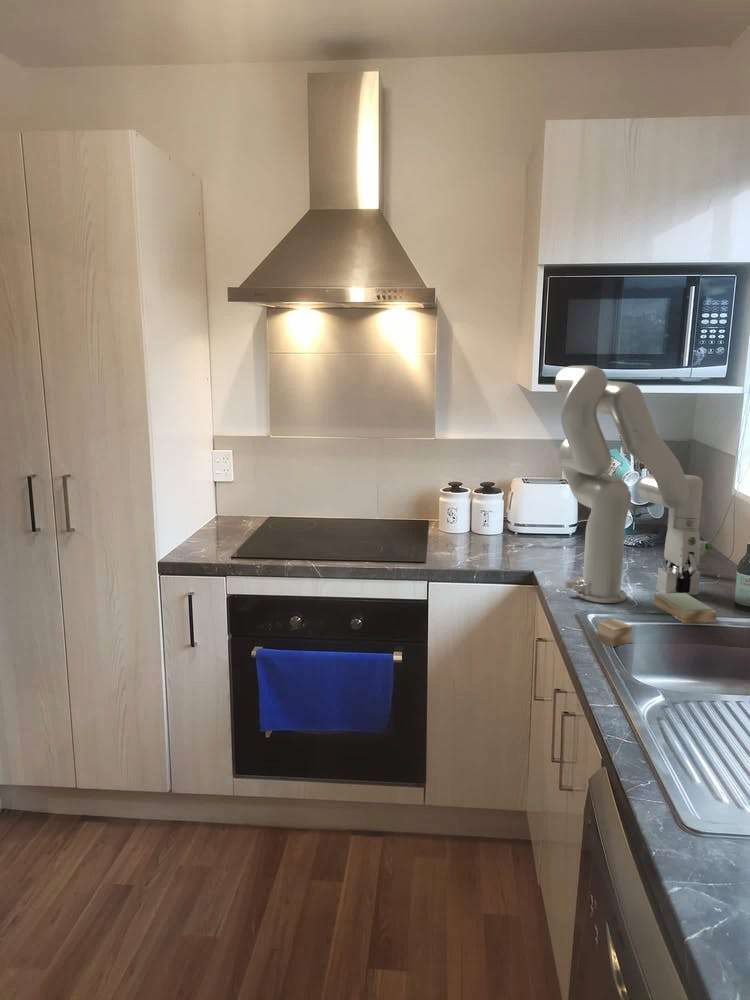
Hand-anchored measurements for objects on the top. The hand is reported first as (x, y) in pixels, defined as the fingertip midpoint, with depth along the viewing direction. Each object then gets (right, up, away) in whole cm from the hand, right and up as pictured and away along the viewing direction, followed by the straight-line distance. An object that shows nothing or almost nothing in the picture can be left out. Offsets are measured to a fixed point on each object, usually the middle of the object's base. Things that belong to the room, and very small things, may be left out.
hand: (677, 588), depth 190 cm
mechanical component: (+10, +2, +17) cm, 20 cm away
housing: (0, -1, 0) cm, 1 cm away
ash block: (-29, -7, -34) cm, 45 cm away
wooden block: (-5, -4, -16) cm, 17 cm away
